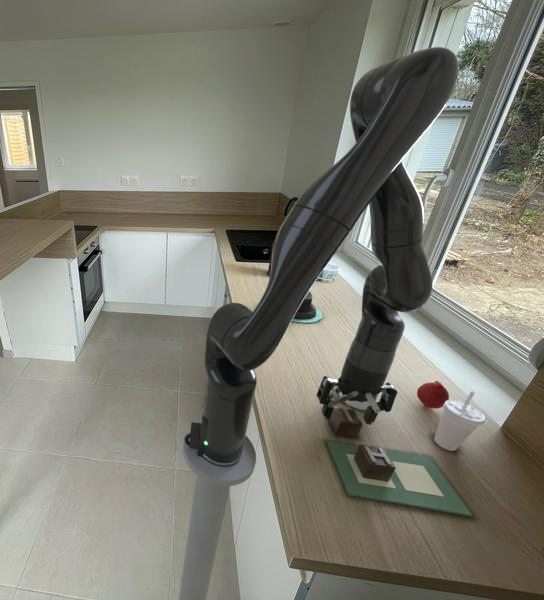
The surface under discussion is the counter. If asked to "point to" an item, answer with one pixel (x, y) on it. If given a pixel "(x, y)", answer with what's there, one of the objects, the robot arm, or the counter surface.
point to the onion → (433, 395)
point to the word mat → (399, 481)
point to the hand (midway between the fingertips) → (346, 419)
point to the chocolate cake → (307, 311)
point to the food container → (329, 272)
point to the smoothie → (457, 423)
